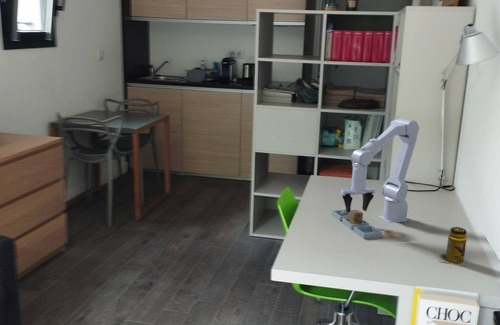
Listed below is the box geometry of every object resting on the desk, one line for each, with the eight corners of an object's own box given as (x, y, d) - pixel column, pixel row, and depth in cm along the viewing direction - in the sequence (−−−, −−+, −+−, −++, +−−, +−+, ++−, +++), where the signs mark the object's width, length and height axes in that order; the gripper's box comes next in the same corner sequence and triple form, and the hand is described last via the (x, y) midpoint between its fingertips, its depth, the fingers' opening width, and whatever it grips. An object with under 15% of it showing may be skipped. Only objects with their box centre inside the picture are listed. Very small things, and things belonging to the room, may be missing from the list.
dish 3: (370, 230, 209) (371, 225, 208) (381, 238, 202) (382, 232, 201) (353, 232, 207) (353, 226, 206) (363, 239, 199) (364, 233, 199)
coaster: (392, 231, 209) (392, 229, 209) (402, 237, 203) (402, 236, 203) (377, 232, 207) (377, 231, 207) (386, 239, 201) (387, 237, 201)
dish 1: (347, 214, 227) (348, 209, 227) (356, 220, 220) (356, 215, 219) (331, 215, 225) (331, 210, 224) (339, 222, 218) (340, 216, 217)
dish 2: (358, 222, 218) (359, 216, 218) (368, 229, 211) (369, 223, 210) (341, 223, 216) (342, 218, 215) (351, 230, 208) (351, 224, 208)
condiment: (464, 266, 179) (469, 234, 176) (438, 261, 182) (443, 230, 179) (464, 258, 185) (468, 227, 183) (439, 254, 188) (443, 223, 186)
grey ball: (345, 215, 224) (345, 209, 224) (348, 218, 222) (349, 211, 221) (339, 216, 223) (339, 209, 223) (342, 218, 221) (342, 212, 220)
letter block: (357, 223, 216) (358, 209, 214) (361, 226, 212) (363, 212, 211) (348, 224, 214) (349, 210, 213) (353, 227, 211) (354, 213, 209)
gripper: (369, 175, 214) (366, 206, 218) (338, 177, 210) (336, 208, 213) (378, 180, 208) (375, 212, 211) (346, 182, 203) (343, 214, 207)
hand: (356, 210), depth 212 cm, fingers open, 7 cm apart
